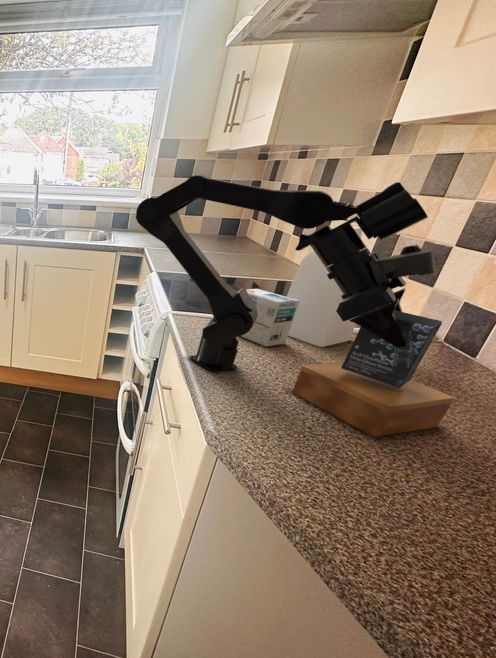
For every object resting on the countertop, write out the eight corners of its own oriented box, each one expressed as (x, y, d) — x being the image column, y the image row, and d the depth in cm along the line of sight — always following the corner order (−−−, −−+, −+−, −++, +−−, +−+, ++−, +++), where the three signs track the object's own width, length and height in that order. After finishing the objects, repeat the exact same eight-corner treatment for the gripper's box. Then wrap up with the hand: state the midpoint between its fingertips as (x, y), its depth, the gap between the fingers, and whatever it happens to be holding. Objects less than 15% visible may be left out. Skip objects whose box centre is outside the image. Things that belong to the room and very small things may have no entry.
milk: (300, 324, 111) (338, 223, 100) (349, 340, 102) (397, 230, 91) (272, 330, 106) (309, 224, 95) (321, 347, 97) (368, 232, 86)
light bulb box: (285, 344, 98) (301, 300, 93) (266, 347, 95) (281, 302, 91) (244, 328, 107) (257, 287, 102) (225, 331, 104) (238, 289, 100)
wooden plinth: (291, 392, 76) (302, 365, 74) (349, 385, 79) (361, 359, 77) (373, 437, 64) (389, 406, 61) (438, 427, 67) (455, 397, 65)
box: (339, 369, 71) (367, 310, 66) (352, 362, 73) (379, 305, 69) (399, 389, 65) (434, 326, 60) (410, 381, 68) (444, 320, 63)
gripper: (402, 231, 56) (477, 332, 53) (414, 223, 68) (476, 306, 65) (311, 276, 64) (371, 365, 62) (335, 262, 76) (387, 336, 74)
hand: (404, 341), depth 65 cm, fingers closed on box, 6 cm apart
